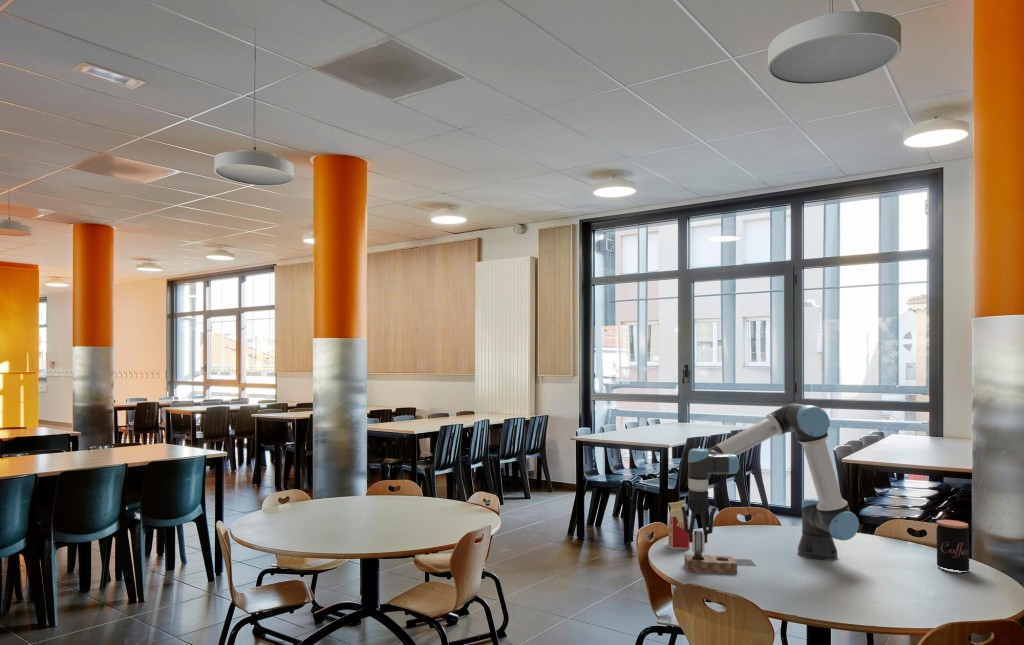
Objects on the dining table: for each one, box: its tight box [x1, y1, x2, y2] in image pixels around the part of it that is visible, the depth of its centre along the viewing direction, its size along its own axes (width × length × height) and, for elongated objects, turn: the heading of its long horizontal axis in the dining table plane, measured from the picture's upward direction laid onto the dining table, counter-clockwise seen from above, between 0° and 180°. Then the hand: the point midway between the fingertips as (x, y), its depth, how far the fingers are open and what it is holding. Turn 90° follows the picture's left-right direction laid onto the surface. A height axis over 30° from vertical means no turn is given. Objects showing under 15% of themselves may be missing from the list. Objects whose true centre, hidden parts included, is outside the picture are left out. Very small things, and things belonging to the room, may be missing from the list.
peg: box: [693, 529, 703, 560], centre depth 266 cm, size 3×3×12 cm
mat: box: [733, 558, 757, 567], centre depth 274 cm, size 9×9×1 cm
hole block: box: [683, 553, 738, 574], centre depth 266 cm, size 18×10×4 cm, turn 84°
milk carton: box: [667, 499, 691, 551], centre depth 298 cm, size 9×9×20 cm
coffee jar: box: [935, 519, 970, 572], centre depth 271 cm, size 11×11×18 cm
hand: (698, 551), depth 266 cm, fingers closed on peg, 3 cm apart
